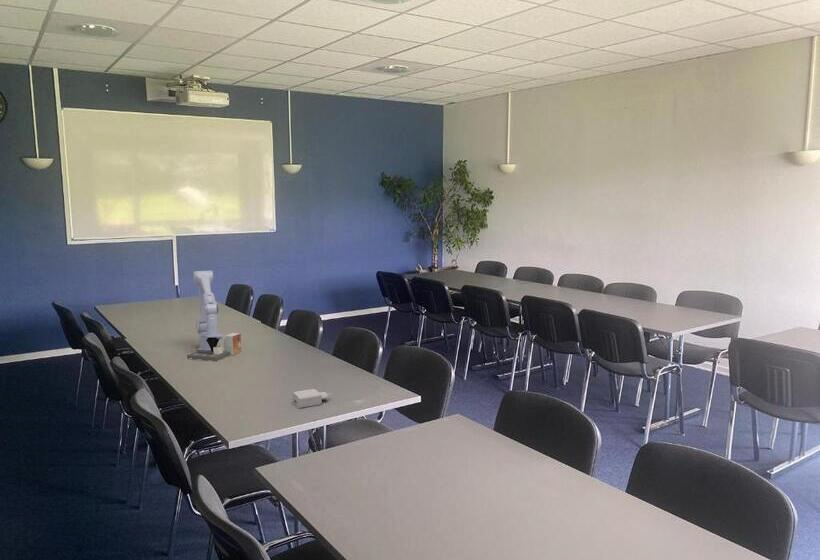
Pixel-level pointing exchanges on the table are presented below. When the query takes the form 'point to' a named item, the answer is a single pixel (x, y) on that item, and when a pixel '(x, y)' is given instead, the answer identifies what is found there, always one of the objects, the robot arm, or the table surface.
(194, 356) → the panel
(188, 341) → the table surface
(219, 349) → the fader
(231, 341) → the small box
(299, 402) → the charger
